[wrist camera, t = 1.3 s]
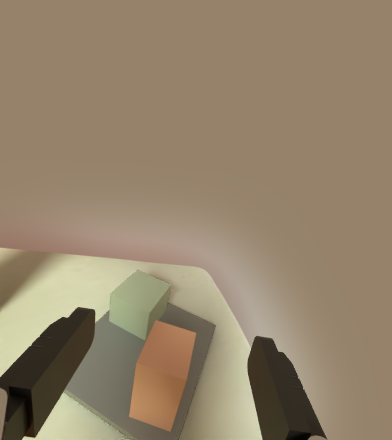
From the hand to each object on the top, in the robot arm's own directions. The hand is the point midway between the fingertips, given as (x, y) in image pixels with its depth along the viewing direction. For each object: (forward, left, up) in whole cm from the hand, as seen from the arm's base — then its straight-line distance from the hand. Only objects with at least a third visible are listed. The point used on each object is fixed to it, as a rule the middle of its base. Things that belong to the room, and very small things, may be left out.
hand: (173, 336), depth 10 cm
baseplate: (-7, +12, -22) cm, 26 cm away
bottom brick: (-11, +16, -21) cm, 29 cm away
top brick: (-2, +7, -21) cm, 23 cm away
